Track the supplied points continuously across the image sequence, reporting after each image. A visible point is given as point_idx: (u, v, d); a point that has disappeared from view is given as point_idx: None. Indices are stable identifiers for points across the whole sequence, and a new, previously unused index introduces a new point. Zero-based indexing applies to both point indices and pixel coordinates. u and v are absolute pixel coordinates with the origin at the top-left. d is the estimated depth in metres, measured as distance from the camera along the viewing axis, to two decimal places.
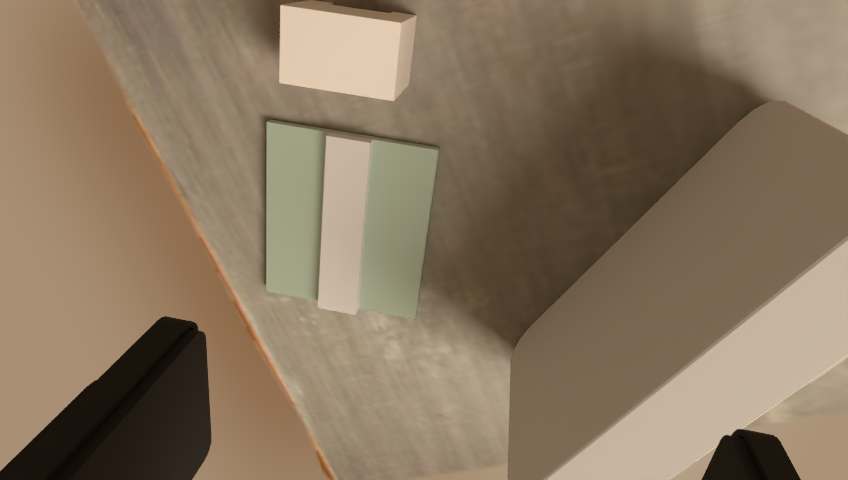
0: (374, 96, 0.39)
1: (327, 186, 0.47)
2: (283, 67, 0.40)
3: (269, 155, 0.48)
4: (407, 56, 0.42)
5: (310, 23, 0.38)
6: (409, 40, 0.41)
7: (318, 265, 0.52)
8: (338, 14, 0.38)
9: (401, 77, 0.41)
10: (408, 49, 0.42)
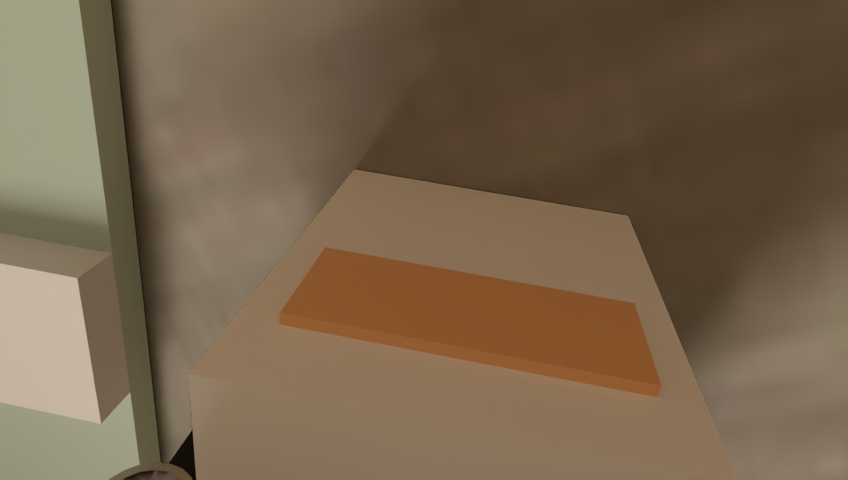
0: None
1: None
2: (299, 419, 0.05)
3: None
4: None
5: None
6: None
7: None
8: None
9: None
10: None
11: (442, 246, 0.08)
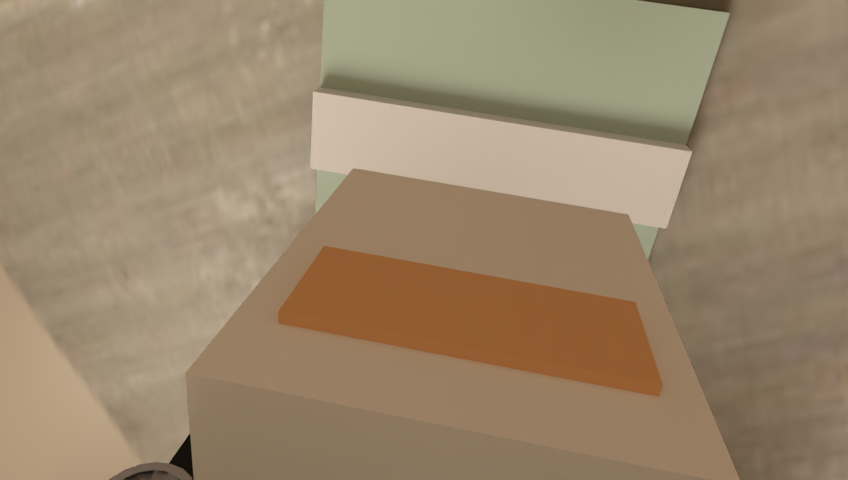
0: None
1: (586, 142, 0.24)
2: (297, 418, 0.05)
3: (654, 9, 0.23)
4: None
5: None
6: None
7: (403, 90, 0.26)
8: None
9: None
10: None
11: (442, 245, 0.08)
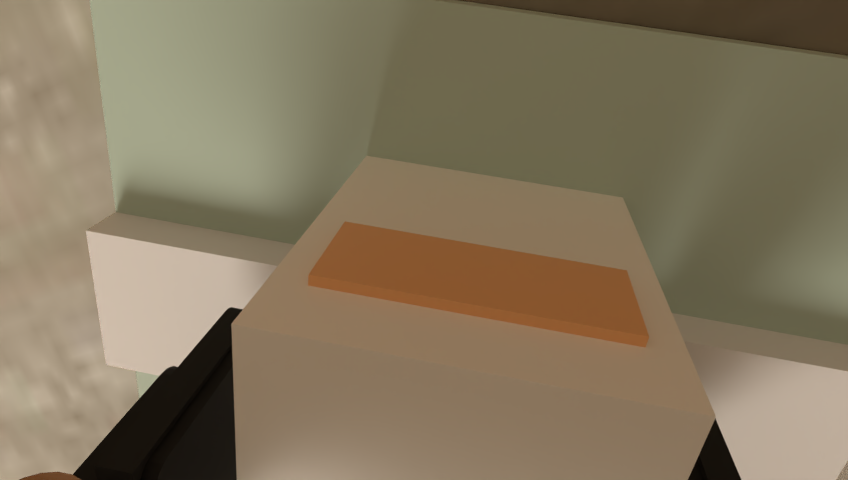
0: None
1: None
2: (328, 363, 0.06)
3: (830, 73, 0.10)
4: None
5: None
6: None
7: (278, 224, 0.12)
8: None
9: None
10: None
11: (450, 222, 0.09)
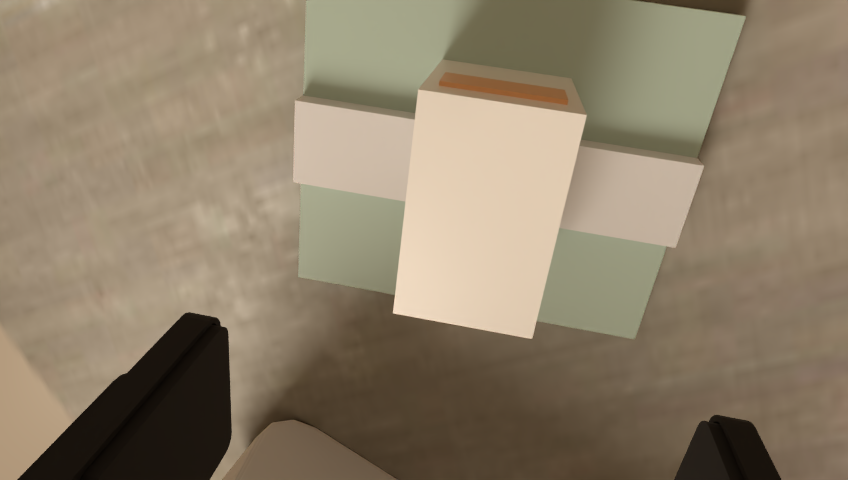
0: (399, 282, 0.20)
1: (590, 155, 0.23)
2: (452, 104, 0.17)
3: (663, 12, 0.21)
4: None
5: (542, 176, 0.18)
6: None
7: (393, 99, 0.24)
8: (556, 233, 0.19)
9: None
10: None
11: (489, 78, 0.20)
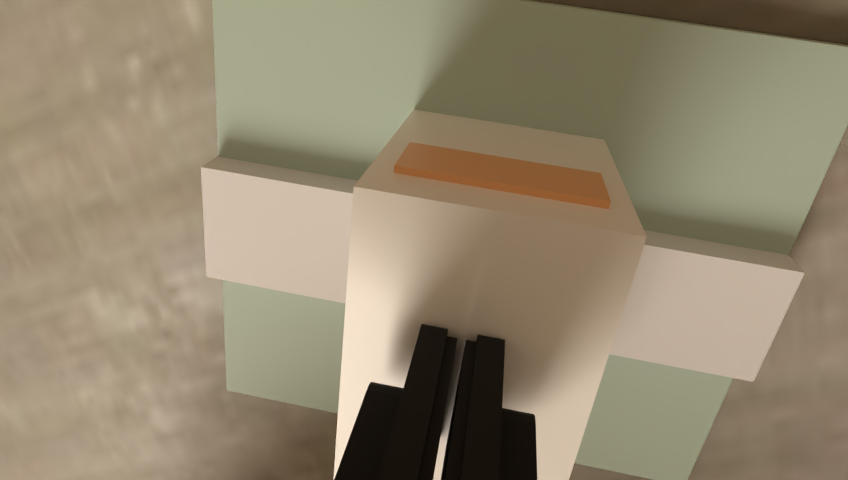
0: None
1: None
2: (412, 211, 0.10)
3: (750, 45, 0.14)
4: None
5: (566, 328, 0.11)
6: None
7: (344, 164, 0.16)
8: (586, 413, 0.11)
9: None
10: None
11: (480, 147, 0.13)
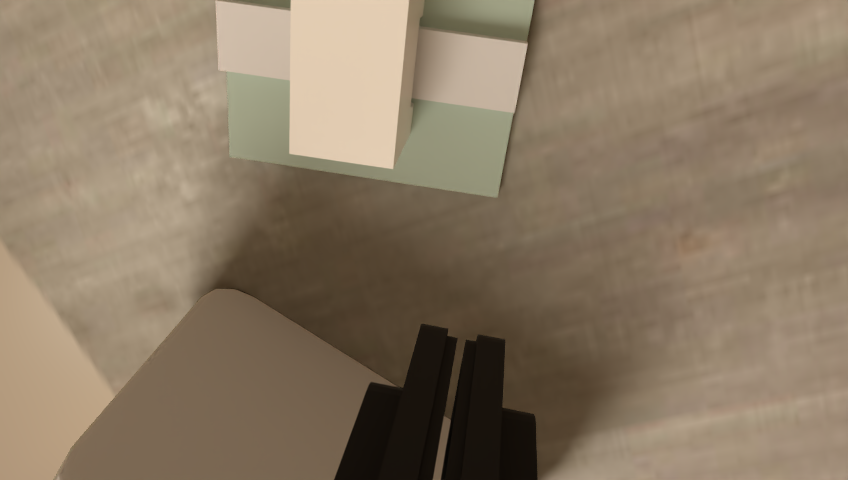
0: (291, 126, 0.27)
1: (443, 38, 0.29)
2: None
3: None
4: None
5: (385, 34, 0.25)
6: None
7: None
8: (400, 80, 0.26)
9: None
10: None
11: None
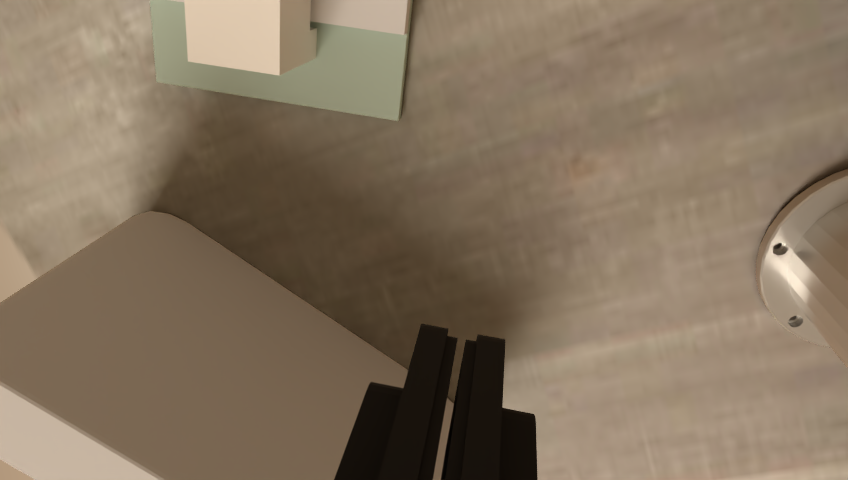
0: (188, 35, 0.30)
1: None
2: None
3: None
4: None
5: None
6: None
7: None
8: None
9: None
10: None
11: None
